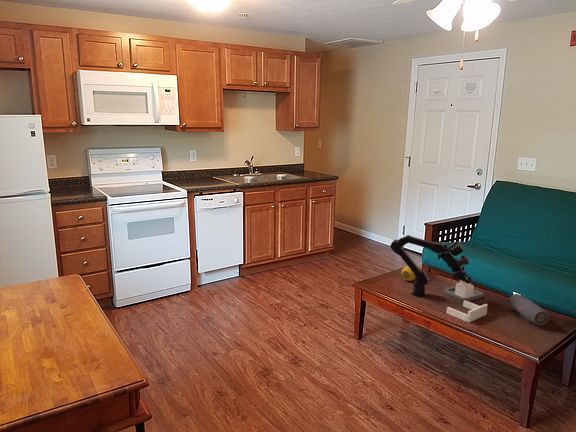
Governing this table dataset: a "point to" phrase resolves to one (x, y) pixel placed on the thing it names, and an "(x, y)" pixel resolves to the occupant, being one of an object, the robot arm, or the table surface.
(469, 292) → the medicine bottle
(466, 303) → the bay
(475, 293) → the tray
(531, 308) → the bluetooth speaker
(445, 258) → the robot arm
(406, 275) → the lantern
